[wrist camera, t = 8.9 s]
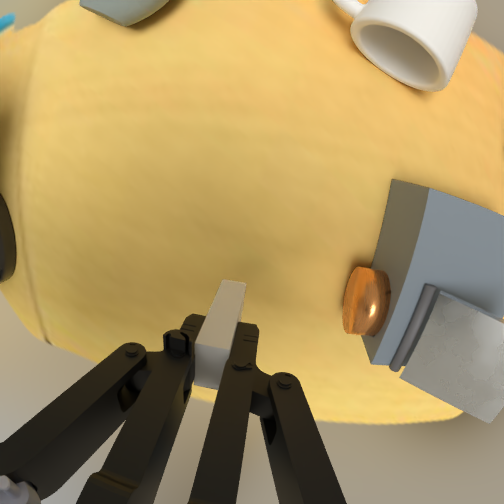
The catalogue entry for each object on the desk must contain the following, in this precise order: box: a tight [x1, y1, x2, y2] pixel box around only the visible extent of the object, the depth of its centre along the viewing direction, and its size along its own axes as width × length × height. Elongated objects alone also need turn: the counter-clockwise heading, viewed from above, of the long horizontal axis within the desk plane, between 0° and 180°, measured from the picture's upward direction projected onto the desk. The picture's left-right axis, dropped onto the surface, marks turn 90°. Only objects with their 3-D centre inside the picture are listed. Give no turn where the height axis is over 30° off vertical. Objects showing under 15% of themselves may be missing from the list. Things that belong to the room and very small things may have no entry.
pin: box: [343, 267, 392, 336], centre depth 20 cm, size 16×5×5 cm, turn 82°
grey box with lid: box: [361, 179, 504, 372], centre depth 18 cm, size 12×13×8 cm
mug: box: [332, 0, 478, 92], centre depth 12 cm, size 12×10×8 cm
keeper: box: [399, 291, 504, 424], centre depth 13 cm, size 9×7×1 cm
